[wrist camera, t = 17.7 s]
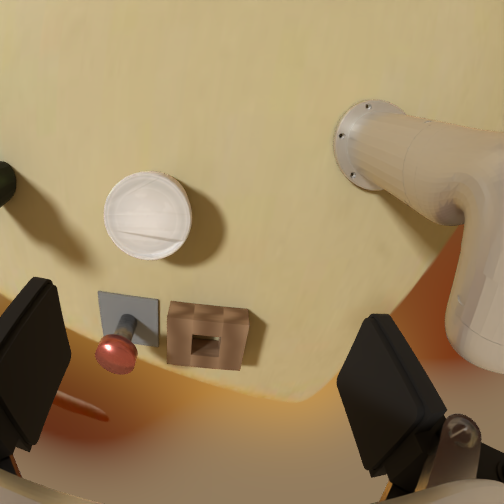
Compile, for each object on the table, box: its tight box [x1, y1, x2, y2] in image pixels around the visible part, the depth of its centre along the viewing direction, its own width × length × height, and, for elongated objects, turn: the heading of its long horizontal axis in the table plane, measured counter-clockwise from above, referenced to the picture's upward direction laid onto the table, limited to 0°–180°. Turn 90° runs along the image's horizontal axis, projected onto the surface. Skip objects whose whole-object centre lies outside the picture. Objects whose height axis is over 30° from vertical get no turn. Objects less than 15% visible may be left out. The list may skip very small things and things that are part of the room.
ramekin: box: [104, 171, 192, 260], centre depth 39 cm, size 11×11×5 cm
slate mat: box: [98, 291, 159, 347], centre depth 49 cm, size 10×10×1 cm
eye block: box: [167, 301, 250, 371], centre depth 49 cm, size 12×10×4 cm
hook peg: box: [95, 314, 138, 374], centre depth 45 cm, size 6×6×9 cm
